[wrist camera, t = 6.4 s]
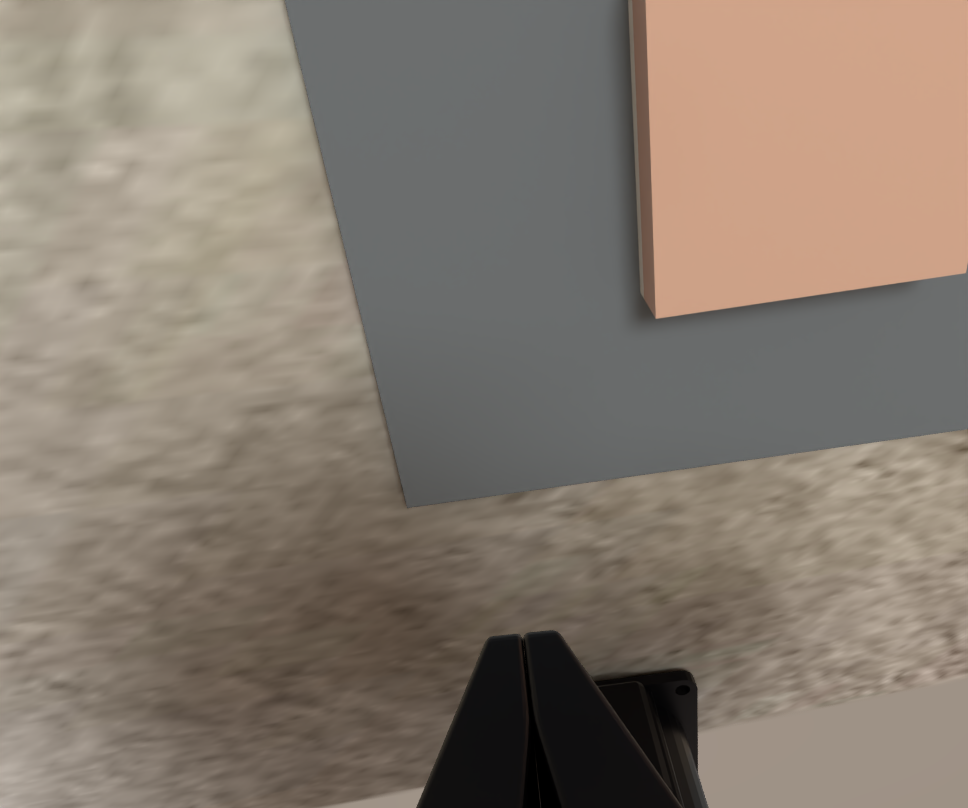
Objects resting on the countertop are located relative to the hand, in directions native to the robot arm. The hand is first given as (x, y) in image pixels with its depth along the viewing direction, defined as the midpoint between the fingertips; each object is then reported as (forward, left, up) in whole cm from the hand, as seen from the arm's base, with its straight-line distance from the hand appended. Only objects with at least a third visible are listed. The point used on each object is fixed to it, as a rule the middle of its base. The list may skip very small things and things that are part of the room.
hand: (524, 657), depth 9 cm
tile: (+3, -4, -10) cm, 11 cm away
